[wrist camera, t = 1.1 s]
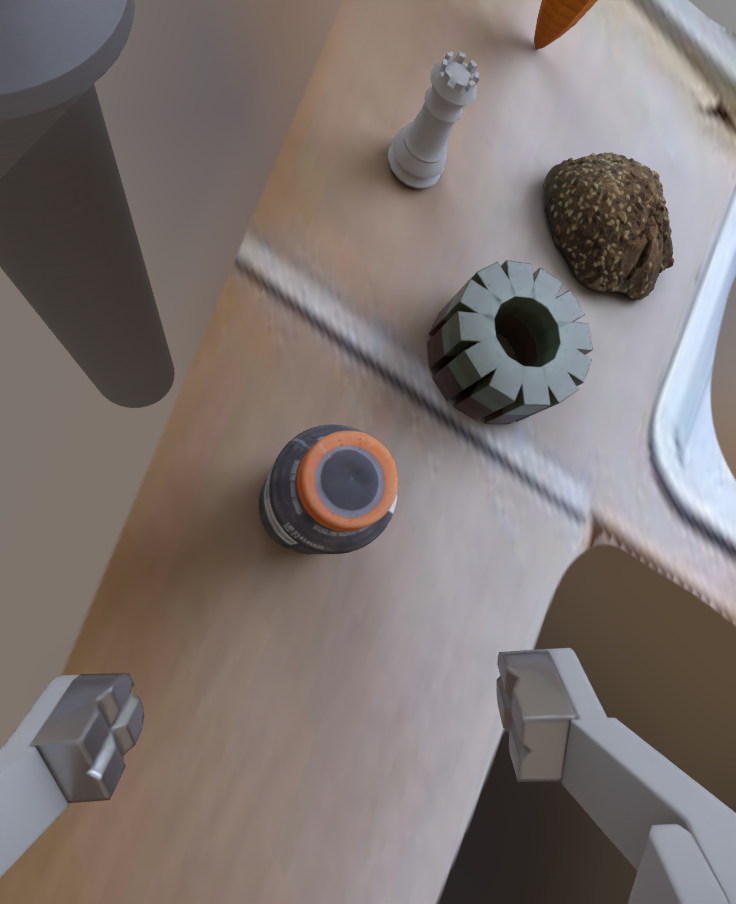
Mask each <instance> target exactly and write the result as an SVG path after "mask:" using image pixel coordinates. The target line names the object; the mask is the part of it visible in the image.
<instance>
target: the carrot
mask: <svg viewBox="0 0 736 904" xmlns="http://www.w3.org/2000/svg"><path fill="white" fill-rule="evenodd" d="M596 1H597V0H542V3H541V7H540V10H539V14H538V18H537V24H536V30H535V36H534V45H535V48H536V49H540V48H543V47H545V46H547V45H548V44H550V43H551V42H553V41H554V40H556V39H558V38H559V37H561V36H562V35H563V34H564V33H565V32H567V31H568V30H569V29H570V28H571V27H573V26H574V25H575V24H576V23H577V22H578V21H579V20H580V19H581V18H582V17H583V16H584V15H585V14H586V12H587V11H588V10H589V9H590V8H591V7H592V6H593V5H594V4H595V3H596Z"/></svg>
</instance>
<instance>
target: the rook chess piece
mask: <svg viewBox="0 0 736 904" xmlns="http://www.w3.org/2000/svg"><path fill="white" fill-rule="evenodd" d="M453 57H454V53H453V51H451V52H449V53H447V54H446V56H445V58H443V60H442V61H441V62H439V63H437V64H435V66H434V67H433V68H432V70H431V81H432V87H430V88H428V90H427V91H426V93H425V102H424V105H423V107H422V109H421V110H420V112H419V114H418V115H417V117H416V118H415V120H414V121H413V122H411V123H409V124H408V125H407V126H406V127H404V128H402V129H401V130H400V131H399V132H398V134H397V135H396V137H395V138H394V141H393V143H392V145H391V146H390V147H389V152H388V159H389V163H390V166H391V169H392V172H393V173H394V174H395V176H396V177H397V178H398V180H400V181H401V182H402V183H404V184H405V185H406V186H409V187H412V188H415V189H416V188H428V187H430V186H432V185H434V184H436V183H437V181H438V180H439V178H440V177H441V173H442V171H443V169H444V168H445V165H446V158H447V140H448V138H449V135H450V132H451V130H452V127H453V125H454V123H455V121H457V120H459V119H460V118H461V116H462V115H463V106H465V105H468V104H470V103H472V102H473V101H474V99H475V98H476V96H477V82H478V80H479V75H480V73H479V72H475V74H474V71H475V69H476V67H477V65H476V63H475V62H474V61H473V60H471V61H470V63H469V65H466V64H465V63H464V62H463V61H464V59H465V57H466V54H464V53H462V52H459V53H458V55H457V57H456V59H454V58H453Z"/></svg>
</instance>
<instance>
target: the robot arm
mask: <svg viewBox="0 0 736 904" xmlns="http://www.w3.org/2000/svg"><path fill="white" fill-rule="evenodd" d="M497 665H498V668H499V672H500V675H501V676H500V677H499V678H498V679H497V701H498V708H499V713H500V717H501V721H502V725H503V728H505V729H506V730H507V731H508V732H509V733H510V738H509V751H510V754H511V758H512V761H513V765H514V768H515V772H516V776H517V779H518V782H534V781H535V782H536V781H562V785H563V786H564V787H565V788H566V789H567V790H568V791H569V793H570V794H571V795H572V796H573V797H574V798H575V800H576V801H577V802H578V803H579V804H580V805H581V806H582V808H583V809H584V810H585V811H586V812H587V813H588V815H589V816H590V817H591V818H592V819H593V820H594V821H595V823H596V824H597V825H598V826H599V827H600V828H601V829H602V830H603V832H604V833H605V834H606V835H607V836H608V838H609V839H610V840H611V841H612V842H613V843H614V844H615V846H616V847H617V848H618V849H619V850H620V851H621V852H622V854H623V855H624V856H625V857H626V858H627V859H628V860H629V861H630V863H631V864H632V865H633V866H634V867H635V869H636V870H637V871H638V873H637V876H636V879H635V882H634V885H633V889H632V892H631V895H630V899H629V902H628V904H736V813H735V812H734V811H732V810H731V809H729V808H728V807H727V806H726V805H725V804H723V803H722V802H721V801H720V800H718V799H717V798H716V797H715V796H713V795H712V794H711V793H709V792H708V791H707V790H706V789H704V788H703V787H702V786H701V785H699V784H698V783H697V782H696V781H694V780H693V779H692V778H690V777H689V776H688V775H687V774H685V773H684V772H683V771H681V770H680V769H679V768H678V767H676V766H675V765H674V764H673V763H671V762H670V761H669V760H668V759H666V758H665V757H664V756H663V755H661V754H660V753H659V752H657V751H656V750H655V749H654V748H652V747H651V746H650V745H649V744H647V743H646V742H645V741H644V740H642V739H641V738H639V737H638V736H637V735H636V734H635V733H633V732H632V731H631V730H630V729H628V728H627V727H626V726H625V725H623V724H622V723H621V722H619V721H618V720H617V719H616V718H607V717H606V714H605V712H604V710H603V708H602V706H601V705H600V702H599V700H598V698H597V697H596V694H595V692H594V690H593V688H592V686H591V684H590V682H589V681H588V678H587V676H586V674H585V672H584V670H583V668H582V666H581V665H580V662H579V660H578V659H577V656H576V654H575V652H574V651H573V650H572V649H571V648H562V649H546V650H545V649H540V650H524V651H509V652H499V655H498V664H497ZM133 686H134V682H133V680H132V678H131V676H130V674H125V673H118V674H81V675H59V676H57V677H56V678H55V679H53V680H52V681H51V682H50V683H49V684H48V686H47V687H46V688H45V690H44V691H43V692H42V694H41V695H40V697H39V698H38V699H37V701H36V702H35V703H34V705H33V706H32V708H31V709H30V710H29V712H28V713H27V715H26V716H25V717H24V719H23V720H22V721H21V723H20V724H19V726H18V727H17V728H16V730H15V731H14V733H13V734H12V735H11V737H10V738H9V740H8V741H7V742H6V744H5V745H4V746H3V748H0V878H1V877H2V876H3V874H4V873H5V872H6V871H7V870H8V869H9V868H10V867H11V866H12V865H13V864H14V863H15V862H16V861H17V860H18V859H19V858H20V857H21V856H22V855H23V853H24V852H25V851H26V850H27V849H28V848H29V847H30V846H31V845H32V844H33V843H34V842H35V841H36V840H37V839H38V838H39V837H40V836H41V835H42V834H43V832H44V831H45V830H46V829H47V828H48V827H49V826H50V825H51V824H52V823H53V822H54V821H55V820H56V819H57V818H58V817H59V816H60V815H61V814H62V813H63V811H64V810H65V809H66V808H67V807H68V806H69V804H68V803H76V802H89V801H102V800H110V798H111V796H112V794H113V792H114V790H115V788H116V786H117V783H118V781H119V779H120V777H121V775H122V773H123V771H124V768H125V762H124V757H123V756H124V755H125V754H126V753H127V752H128V751H129V750H130V749H131V748H133V747H134V746H135V744H136V742H137V740H138V738H139V735H140V733H141V730H142V724H143V719H144V711H143V705H142V702H141V699H140V698H139V697H138V696H136V695H135V694H133V693H132V692H131V690H132V688H133Z"/></svg>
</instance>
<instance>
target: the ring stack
mask: <svg viewBox="0 0 736 904" xmlns="http://www.w3.org/2000/svg"><path fill="white" fill-rule="evenodd" d="M561 286H562V282H560V281H559V280H558V279H556V278H555V277H553V276H552V275H550V274H549V273H547V272H546V271H544V270H543V269H542V268H539V269H538V270H537V271H536V272H535V273H533V270H532V264H529V263H522V262H515V261H505V262H504V263H503V264H502V265H501V266H500V264H499V263H498V262H496V263H494V264H492V265H490V266H488V267H486V268H484V269H482V270H480V271H478V272H476V274H475V275H474V276H473V277H472V278H471V279H470V280H469V281H468V282H467V283H466V284H465V285H464V286H463V287H462V288H461V290H460V291H459V292H458V293H457V294H456V295H455V296H454V297H453V298H452V299H451V300H450V302H449V303H448V304H447V305H446V306H445V307H444V308H443V309H442V310H441V311H440V313H439V314H438V316H437V318H436V320H435V322H434V324H433V326H432V328H431V330H430V332H429V335H431V336H433V337H432V338H431V339H430V340H429V341H428V342H427V347H428V359H429V368H435V369H441V370H440V371H439V372H438V373H436V374H435V375H434V376H433V379H434V381H435V382H436V384H437V386H438V387H439V389H440V390H441V392H442V393H443V395H444V397H445V398H446V400H449V399H451V398H452V397H454V396H456V395H457V394H459V393H460V395H459V397H458V399H457V401H456V404H455V406H454V407H455V408H456V409H458V410H459V411H461V412H463V413H464V414H466V415H468V416H469V417H471V418H473V419H474V420H476V421H477V420H479V419H481V418H483V417H484V420H485V423H486V424H509V423H512V422H514V421H516V422H517V421H519V420H522V419H524V418H526V417H529V416H531V415H533V414H535V413H538V412H540V411H542V410H545V409H547V408H549V407H552V406H554V405H556V404H558V403H560V402H562V401H563V400H564V399H566V398H567V397H569V396H570V395H572V394H573V393H575V392H576V391H577V390H578V388H577V386H578V385H580V384H582V383H584V380H585V377H586V375H587V372H588V369H589V366H590V363H591V361H592V359H591V358H589V357H588V356H586V355H585V354H587V353H589V352H591V351H592V350H593V348H592V342H591V336H590V329H589V324H588V323H580V322H574V321H576V320H577V319H579V318H581V317H582V316H584V315H585V313H584V312H583V310H582V309H581V307H580V306H579V304H578V302H577V301H576V299H575V298H574V296H573V295H572V293H571V291H567V292H565V293H564V294H562V295H560V296H558V294H559V291H560V289H561ZM557 296H558V297H557ZM496 331H497V332H498V333H500V334H501V335H503V336H505V337H506V338H507V339H508V340H509V342H510V343H511V345H512V346H513V348H514V350H515V351H516V353H517V361H518V362H517V361H515V360H513V359H512V358H510V357H509V356H507V354H506V352H505V351H504V349H503V348H502V346H501V344H500V343H499V341H498V340H497V338H496Z"/></svg>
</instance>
